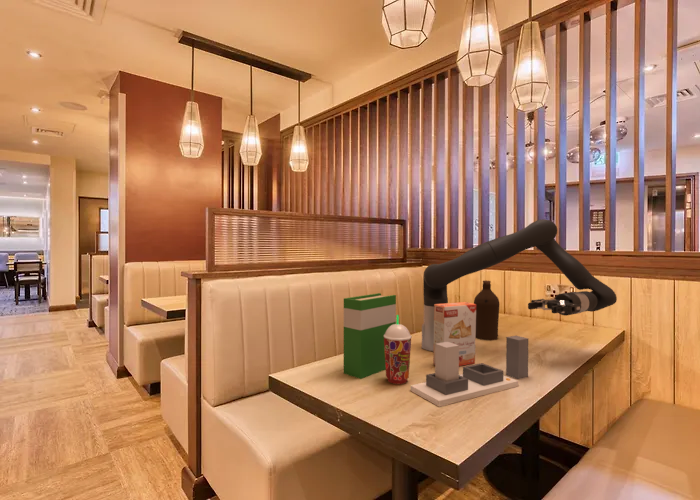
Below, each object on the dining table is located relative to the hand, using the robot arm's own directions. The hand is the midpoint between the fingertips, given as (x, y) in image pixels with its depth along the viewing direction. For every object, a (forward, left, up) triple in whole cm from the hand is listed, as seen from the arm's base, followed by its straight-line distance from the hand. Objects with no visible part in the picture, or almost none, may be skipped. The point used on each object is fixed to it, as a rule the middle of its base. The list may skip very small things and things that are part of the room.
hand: (540, 308), depth 125 cm
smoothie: (-36, -33, -21) cm, 53 cm away
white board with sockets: (-17, -28, -20) cm, 39 cm away
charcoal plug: (-6, -9, -20) cm, 23 cm away
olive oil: (-25, +36, -21) cm, 48 cm away
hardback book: (-48, -28, -21) cm, 59 cm away
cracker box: (-26, -8, -21) cm, 34 cm away
